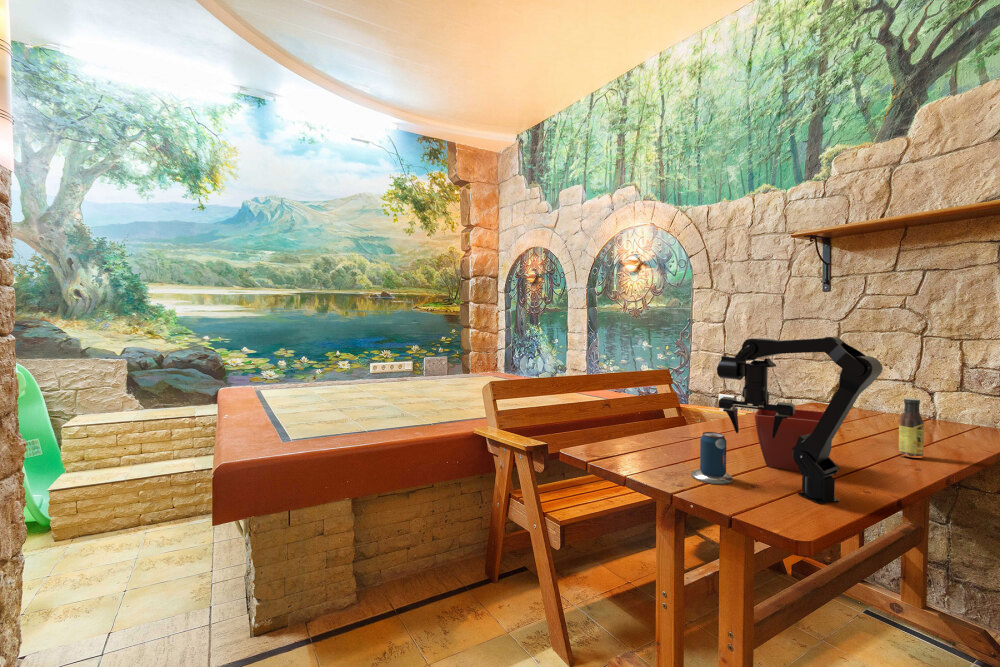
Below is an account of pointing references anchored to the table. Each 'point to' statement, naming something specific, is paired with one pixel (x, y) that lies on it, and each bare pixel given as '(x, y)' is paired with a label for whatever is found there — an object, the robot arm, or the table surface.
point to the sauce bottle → (911, 429)
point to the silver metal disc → (719, 481)
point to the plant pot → (783, 435)
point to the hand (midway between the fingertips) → (755, 435)
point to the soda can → (713, 454)
